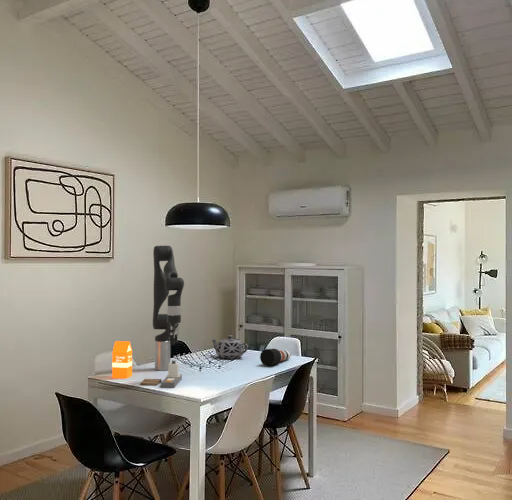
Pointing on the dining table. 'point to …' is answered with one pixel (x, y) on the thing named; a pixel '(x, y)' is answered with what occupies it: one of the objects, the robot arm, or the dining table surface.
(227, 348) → the teapot
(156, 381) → the walnut board
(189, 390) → the dining table surface
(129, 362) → the orange juice
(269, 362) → the dark cylindrical piece
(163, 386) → the grey panel with rod
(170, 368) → the plug
